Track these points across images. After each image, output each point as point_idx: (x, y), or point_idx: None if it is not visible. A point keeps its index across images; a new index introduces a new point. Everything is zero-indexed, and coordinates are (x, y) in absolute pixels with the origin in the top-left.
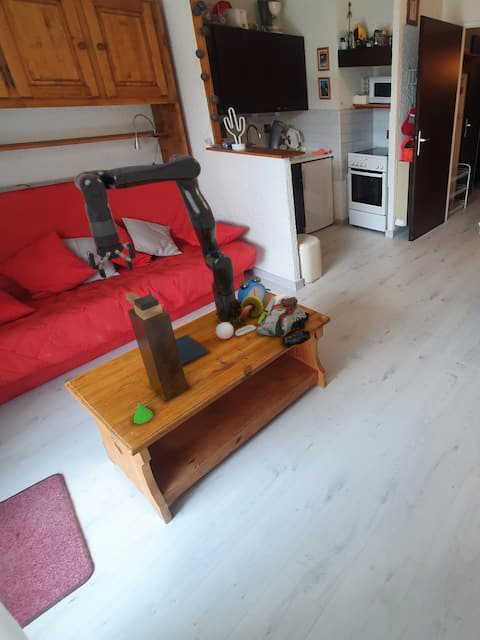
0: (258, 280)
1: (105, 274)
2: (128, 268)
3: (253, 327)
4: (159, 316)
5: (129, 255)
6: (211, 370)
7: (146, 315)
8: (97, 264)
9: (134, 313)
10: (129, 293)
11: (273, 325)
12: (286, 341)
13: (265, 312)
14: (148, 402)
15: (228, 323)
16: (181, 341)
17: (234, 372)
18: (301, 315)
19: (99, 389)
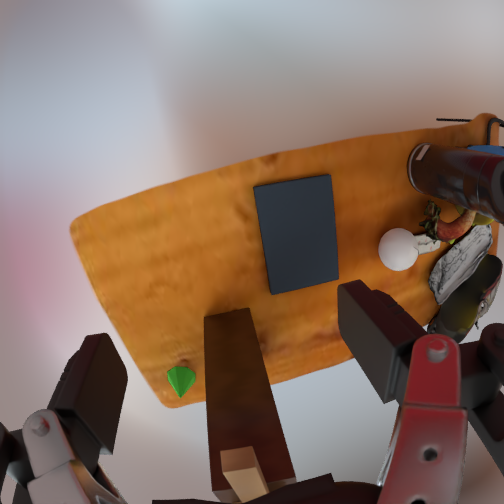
0: None
1: (121, 406)
2: (347, 320)
3: (436, 244)
4: None
5: (480, 377)
6: (314, 331)
7: None
8: (35, 456)
9: (228, 502)
10: (241, 472)
11: (456, 260)
12: (434, 332)
13: None
14: (192, 353)
15: (417, 255)
16: (310, 200)
17: (339, 353)
18: (485, 312)
19: (111, 268)
